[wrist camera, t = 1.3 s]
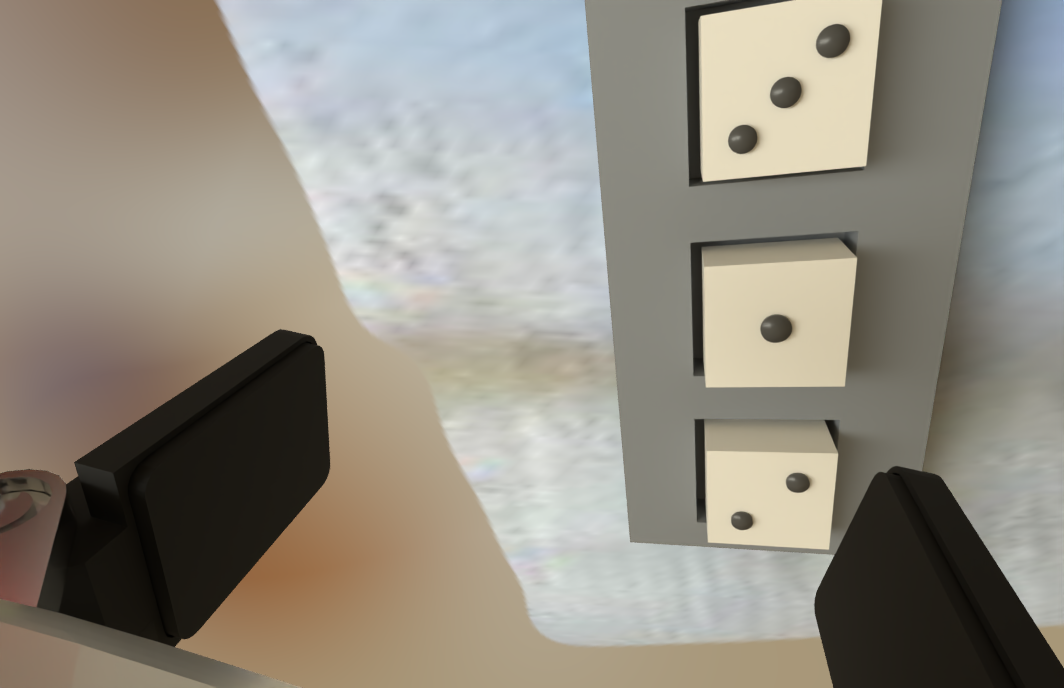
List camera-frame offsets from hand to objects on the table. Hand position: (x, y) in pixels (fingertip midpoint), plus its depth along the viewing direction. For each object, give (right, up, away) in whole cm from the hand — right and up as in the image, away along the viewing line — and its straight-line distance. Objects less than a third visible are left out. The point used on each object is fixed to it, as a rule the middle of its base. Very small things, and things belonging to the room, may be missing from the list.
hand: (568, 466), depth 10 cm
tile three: (+9, +12, +13) cm, 20 cm away
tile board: (+10, +5, +18) cm, 21 cm away
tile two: (+11, -4, +20) cm, 23 cm away
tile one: (+10, +4, +17) cm, 20 cm away
